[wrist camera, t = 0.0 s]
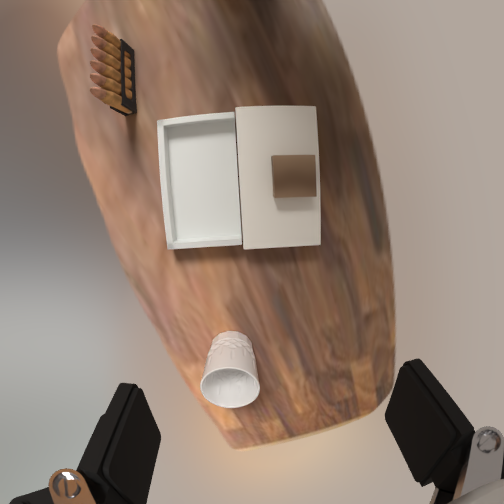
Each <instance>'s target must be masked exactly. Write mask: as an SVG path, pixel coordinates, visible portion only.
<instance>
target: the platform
mask: <svg viewBox="0 0 504 504" xmlns="http://www.w3.org/2000/svg"><path fill="white" fill-rule="evenodd" d="M235 109H236V128H237V146H238V164H239V181H240V198H241V214H242V230H243V246H244V249H260V248H277V247H293V246H310V245H321V208H320V169H319V147H318V130H317V115H316V106H248V107H235ZM273 155H315V161H316V189H317V197H290V198H274V197H273V183H272V163H271V156H273Z"/></svg>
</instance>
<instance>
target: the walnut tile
mask: <svg viewBox="0 0 504 504" xmlns="http://www.w3.org/2000/svg"><path fill="white" fill-rule="evenodd" d="M271 163H272V183H273V197H274V198H290V197H317V189H316V161H315V155H273V156H271Z"/></svg>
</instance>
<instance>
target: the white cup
mask: <svg viewBox="0 0 504 504" xmlns="http://www.w3.org/2000/svg"><path fill="white" fill-rule="evenodd" d="M200 388H201V392H202V394H203V396H204V397H205V398H206V399H207V400H208V401H209V402H211V403H213V404H215V405H217V406H220V407H225V408H238V407H243V406H246V405H248V404H250V403H251V402H253V401H254V400H255V399H256V398H257V396H258V394H259V391H260V385H259V379H258V372H257V366H256V360H255V355H254V353H253V347H252V342H251V341H250V340H249V338H248V337H247V336H246V335H244V334H242V333H240V332H238V331H226V332H223V333H219V334H218V335H217V336H216V337H215V338H214V339H213V341H212V344H211V347H210V351H209V352H208V356H207V359H206V363H205V367H204V371H203V376H202V380H201V384H200Z"/></svg>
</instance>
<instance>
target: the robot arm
mask: <svg viewBox="0 0 504 504" xmlns="http://www.w3.org/2000/svg"><path fill="white" fill-rule="evenodd" d="M385 420H386V422H387V424H388V426H389V428H390V430H391V432H392V434H393V436H394V438H395V440H396V442H397V444H398V446H399V448H400V450H401V452H402V454H403V456H404V458H405V461H406V462H407V464H408V467H409V469H410V471H411V473H412V475H413V477H414V479H415V481H416V482H420V484H421V486H422V487H423V486H425V485H427V484H429V483H432V482H433V483H434V485H435V491H434V493H433V496H432V499H431V501H430V504H504V437H503V435H502V434H501V432H500V431H499V430H497V429H496V428H494V427H482V428H480V429H479V430H477V431H476V432H475V431H474V427H473V426H472V424H471V423H470V422H469V421H468V419H467V418H466V416H465V415H464V414H463V412H462V411H461V410H460V408H459V407H458V406H457V404H456V403H455V402H454V401H453V399H452V398H451V397H450V395H449V394H448V393H447V392H446V390H445V389H444V388H443V386H442V385H441V384H440V383H439V381H438V380H437V379H436V378H435V377H434V375H433V374H432V373H431V371H430V370H429V369H428V368H427V367H426V365H425V364H424V363H423V362H422V361H421V360H420V359H414V360H411V361H407V362H405V363H404V364H403V366H402V367H401V368H400V370H399V373H398V377H397V380H396V383H395V386H394V389H393V392H392V395H391V398H390V401H389V404H388V407H387V409H386V412H385ZM160 441H161V434H160V431H159V429H158V427H157V424H156V422H155V420H154V417H153V415H152V413H151V410H150V408H149V405H148V403H147V400H146V398H145V395H144V393H143V390H142V389H141V388H138V386H137V385H136V384H128V383H120V384H119V386H118V388H117V390H116V392H115V394H114V396H113V398H112V400H111V402H110V404H109V406H108V409H107V411H106V413H105V414H104V415H102V416H101V417H100V419H99V421H98V423H97V425H96V428H95V430H94V432H93V434H92V436H91V438H90V441H89V443H88V445H87V448H86V449H85V452H84V454H83V456H82V459H81V461H80V463H79V466H78V468H77V470H76V471H75V470H73V469H67V468H66V469H60V470H58V471H56V472H55V473H54V474H53V475H52V476H51V478H50V480H49V487H47V488H45V489H42V490H38V491H35V492H32V493H29V494H26V495H23V496H19V497H16V498H14V499H13V500H12V501H11V502H10V504H146V503H147V498H148V493H149V489H150V484H151V480H152V475H153V471H154V467H155V462H156V458H157V454H158V450H159V445H160Z"/></svg>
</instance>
